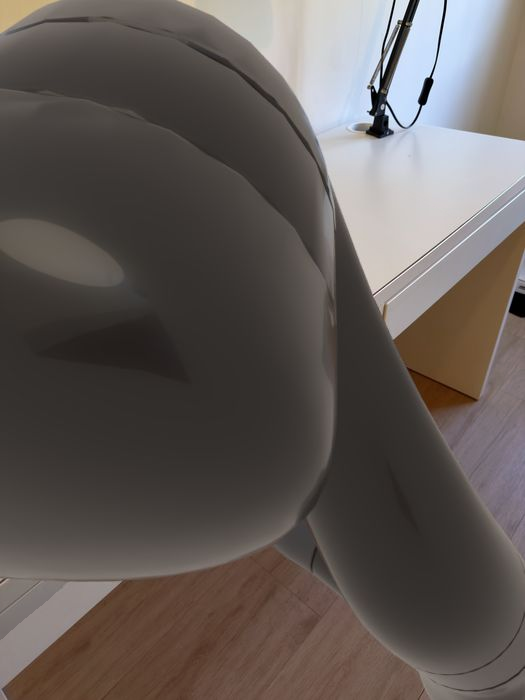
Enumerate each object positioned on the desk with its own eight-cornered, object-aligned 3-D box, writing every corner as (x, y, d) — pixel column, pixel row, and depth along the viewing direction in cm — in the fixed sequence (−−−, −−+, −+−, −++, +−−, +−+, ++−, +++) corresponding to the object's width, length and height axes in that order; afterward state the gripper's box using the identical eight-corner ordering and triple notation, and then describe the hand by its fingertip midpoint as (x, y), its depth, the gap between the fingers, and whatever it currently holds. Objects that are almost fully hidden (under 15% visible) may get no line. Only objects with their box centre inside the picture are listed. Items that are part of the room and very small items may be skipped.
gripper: (352, 406, 40) (210, 326, 49) (216, 531, 33) (77, 409, 41) (347, 468, 45) (218, 384, 54) (228, 590, 37) (100, 469, 46)
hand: (157, 395), depth 48 cm, fingers open, 8 cm apart
